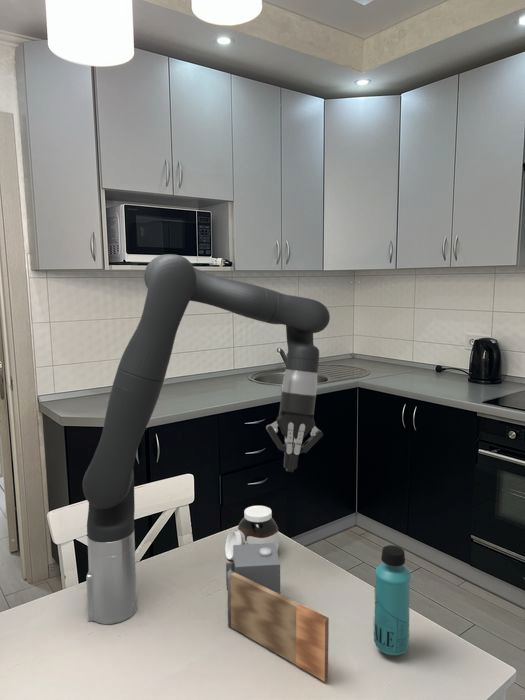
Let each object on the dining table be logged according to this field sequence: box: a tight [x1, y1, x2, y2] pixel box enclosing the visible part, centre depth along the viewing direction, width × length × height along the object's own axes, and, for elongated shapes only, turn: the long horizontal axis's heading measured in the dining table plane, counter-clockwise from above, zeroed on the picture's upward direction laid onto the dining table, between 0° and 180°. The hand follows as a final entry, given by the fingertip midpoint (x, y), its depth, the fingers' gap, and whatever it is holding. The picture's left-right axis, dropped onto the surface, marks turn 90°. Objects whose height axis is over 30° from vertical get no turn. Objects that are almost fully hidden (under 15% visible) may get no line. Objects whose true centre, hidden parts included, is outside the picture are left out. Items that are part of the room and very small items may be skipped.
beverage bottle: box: [373, 544, 412, 656], centre depth 94 cm, size 6×7×20 cm
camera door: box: [226, 571, 330, 682], centre depth 95 cm, size 23×1×11 cm, turn 49°
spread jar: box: [224, 505, 280, 561], centre depth 129 cm, size 12×11×12 cm
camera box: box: [225, 543, 281, 595], centre depth 108 cm, size 11×9×13 cm
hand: (289, 470), depth 113 cm, fingers closed
